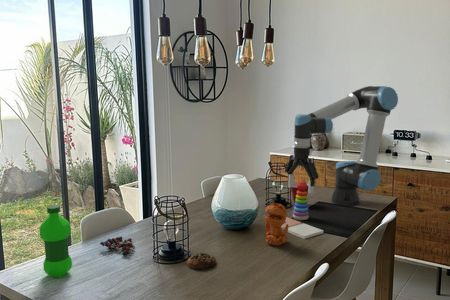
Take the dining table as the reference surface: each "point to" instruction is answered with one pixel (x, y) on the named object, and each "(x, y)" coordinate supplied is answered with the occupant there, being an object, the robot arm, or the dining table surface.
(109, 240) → the grape bunch
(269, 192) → the dining table surface
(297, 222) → the terracotta tile
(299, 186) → the stacking toy
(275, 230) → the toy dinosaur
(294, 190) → the plastic cup
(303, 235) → the cream tile
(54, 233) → the plastic bottle
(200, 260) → the bread roll
